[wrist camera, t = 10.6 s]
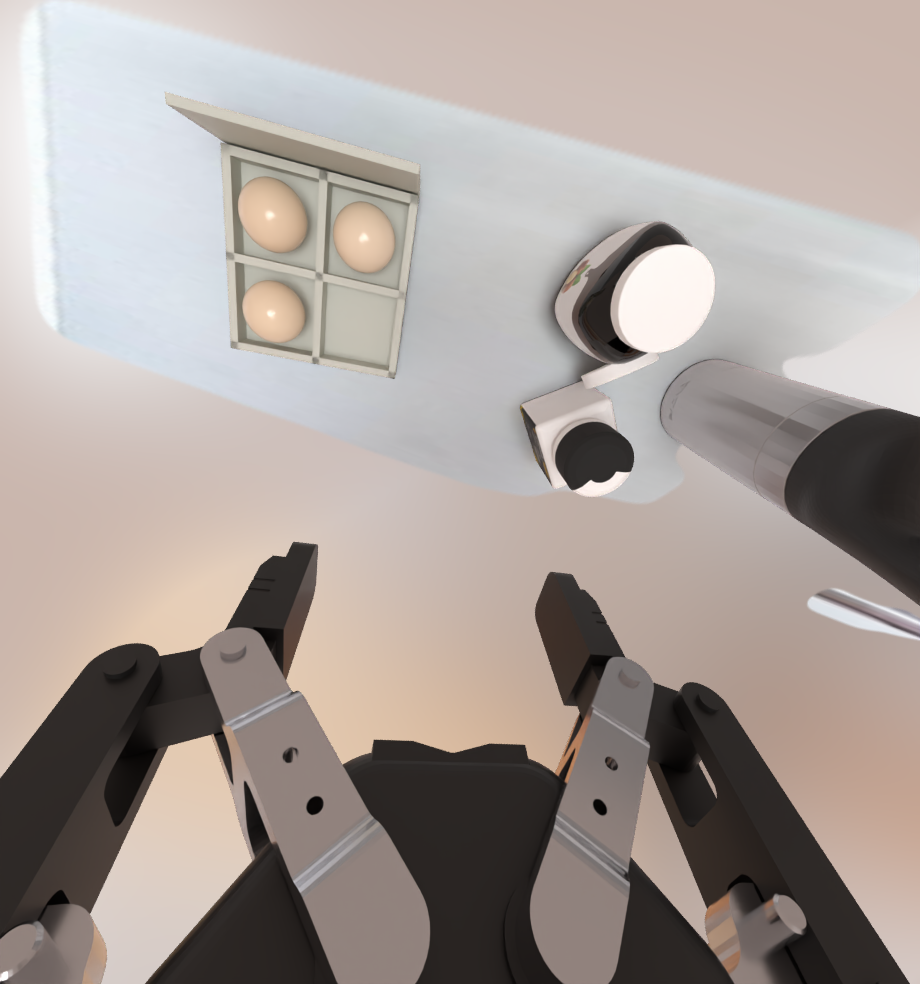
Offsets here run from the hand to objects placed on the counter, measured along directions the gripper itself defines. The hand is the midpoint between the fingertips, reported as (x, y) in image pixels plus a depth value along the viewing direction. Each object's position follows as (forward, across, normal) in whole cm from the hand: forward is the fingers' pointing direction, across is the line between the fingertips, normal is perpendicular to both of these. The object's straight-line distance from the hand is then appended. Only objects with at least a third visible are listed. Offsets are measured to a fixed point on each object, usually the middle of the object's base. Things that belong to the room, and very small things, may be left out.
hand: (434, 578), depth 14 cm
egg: (+30, +13, -4) cm, 33 cm away
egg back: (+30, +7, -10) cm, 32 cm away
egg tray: (+30, +10, -7) cm, 32 cm away
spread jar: (+30, -16, -9) cm, 36 cm away
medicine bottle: (+30, -15, +2) cm, 34 cm away
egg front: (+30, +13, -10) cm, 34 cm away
